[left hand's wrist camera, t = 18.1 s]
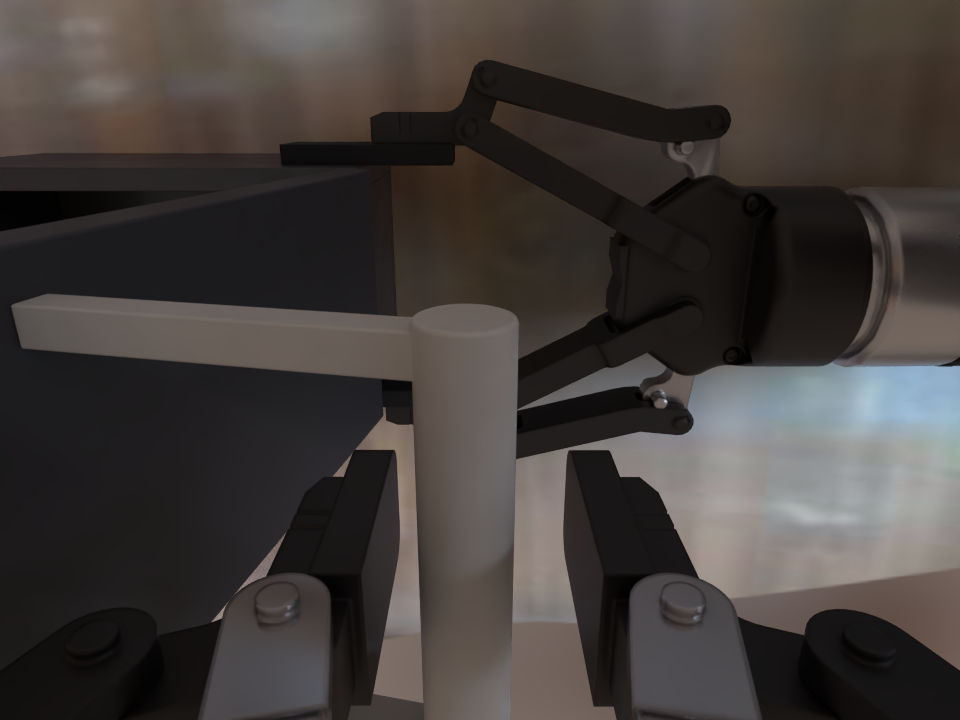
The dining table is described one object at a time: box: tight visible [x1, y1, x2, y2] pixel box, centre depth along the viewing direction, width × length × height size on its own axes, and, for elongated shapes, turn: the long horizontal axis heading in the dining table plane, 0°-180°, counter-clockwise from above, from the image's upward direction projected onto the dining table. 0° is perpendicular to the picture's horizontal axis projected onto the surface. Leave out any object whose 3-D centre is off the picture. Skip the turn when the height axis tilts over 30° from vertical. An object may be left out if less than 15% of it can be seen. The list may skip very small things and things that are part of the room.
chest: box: [0, 153, 397, 380], centre depth 30 cm, size 17×9×9 cm, turn 90°
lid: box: [0, 169, 519, 720], centre depth 16 cm, size 18×9×9 cm
